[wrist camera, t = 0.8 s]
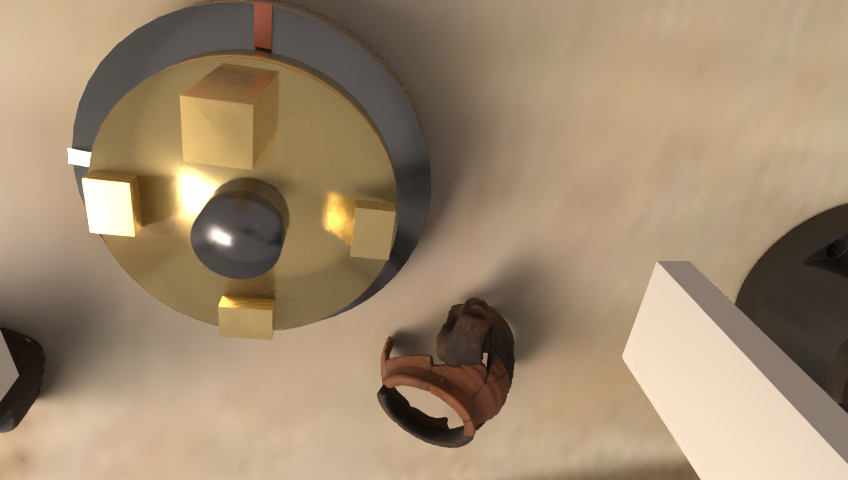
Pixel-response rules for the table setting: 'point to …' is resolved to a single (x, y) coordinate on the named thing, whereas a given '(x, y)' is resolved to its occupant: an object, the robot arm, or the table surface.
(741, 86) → the table surface
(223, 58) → the gold lug disc
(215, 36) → the base
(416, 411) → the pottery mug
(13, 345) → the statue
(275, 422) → the table surface
